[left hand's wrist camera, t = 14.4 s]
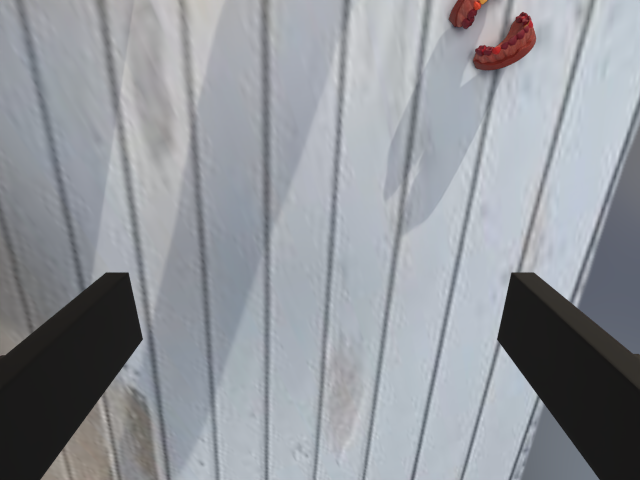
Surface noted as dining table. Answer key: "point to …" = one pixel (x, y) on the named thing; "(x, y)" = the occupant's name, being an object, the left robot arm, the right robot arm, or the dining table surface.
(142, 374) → the dining table surface
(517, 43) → the dental model
